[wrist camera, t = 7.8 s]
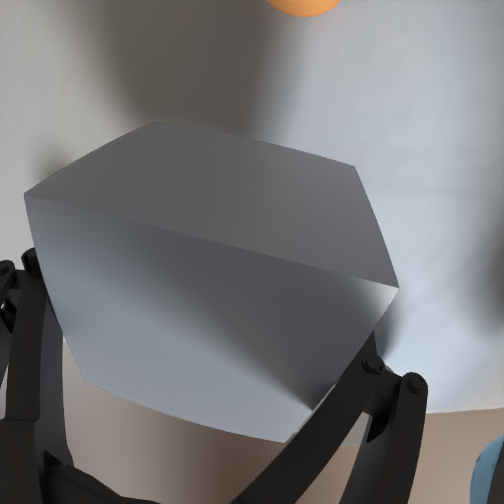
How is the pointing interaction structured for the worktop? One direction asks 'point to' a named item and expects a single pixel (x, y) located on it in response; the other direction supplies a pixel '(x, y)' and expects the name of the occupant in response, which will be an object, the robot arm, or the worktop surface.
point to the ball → (303, 6)
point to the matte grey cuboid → (211, 274)
